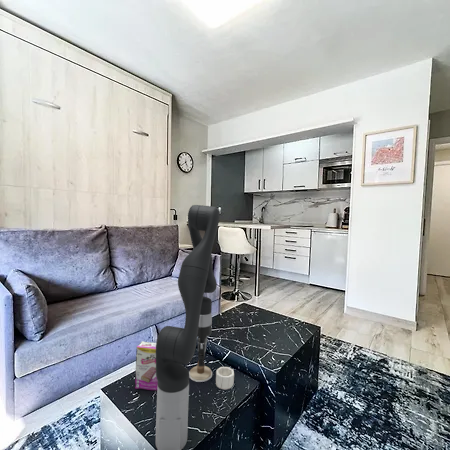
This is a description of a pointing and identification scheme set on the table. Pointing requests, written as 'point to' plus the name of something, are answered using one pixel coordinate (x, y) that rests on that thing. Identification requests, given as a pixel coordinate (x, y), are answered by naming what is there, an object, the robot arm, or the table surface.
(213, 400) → the table surface
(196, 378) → the lid
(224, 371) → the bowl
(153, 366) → the candy bar box
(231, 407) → the table surface
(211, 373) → the white round disc
